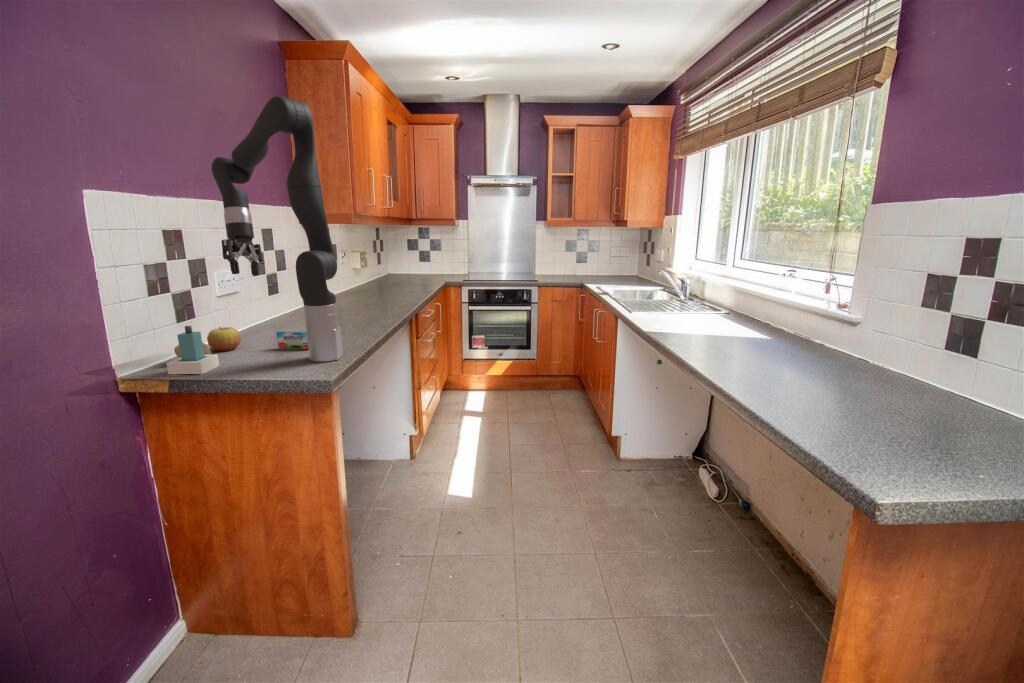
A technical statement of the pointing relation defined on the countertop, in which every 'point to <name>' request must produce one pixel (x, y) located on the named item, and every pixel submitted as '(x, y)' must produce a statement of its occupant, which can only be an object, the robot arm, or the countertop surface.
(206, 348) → the fossil
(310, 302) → the robot arm
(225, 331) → the apple
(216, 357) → the socket
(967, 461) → the countertop surface
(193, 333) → the teal block with knob
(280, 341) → the blue printed box
